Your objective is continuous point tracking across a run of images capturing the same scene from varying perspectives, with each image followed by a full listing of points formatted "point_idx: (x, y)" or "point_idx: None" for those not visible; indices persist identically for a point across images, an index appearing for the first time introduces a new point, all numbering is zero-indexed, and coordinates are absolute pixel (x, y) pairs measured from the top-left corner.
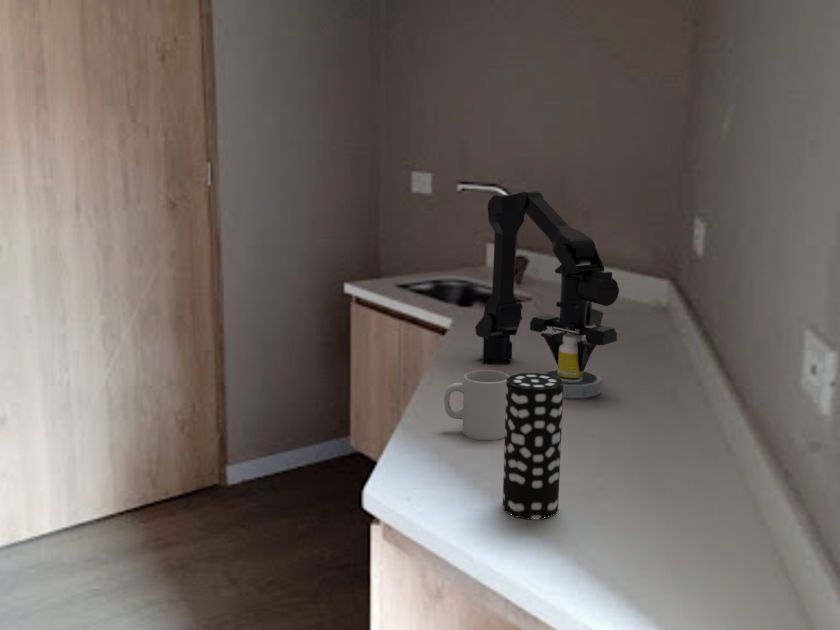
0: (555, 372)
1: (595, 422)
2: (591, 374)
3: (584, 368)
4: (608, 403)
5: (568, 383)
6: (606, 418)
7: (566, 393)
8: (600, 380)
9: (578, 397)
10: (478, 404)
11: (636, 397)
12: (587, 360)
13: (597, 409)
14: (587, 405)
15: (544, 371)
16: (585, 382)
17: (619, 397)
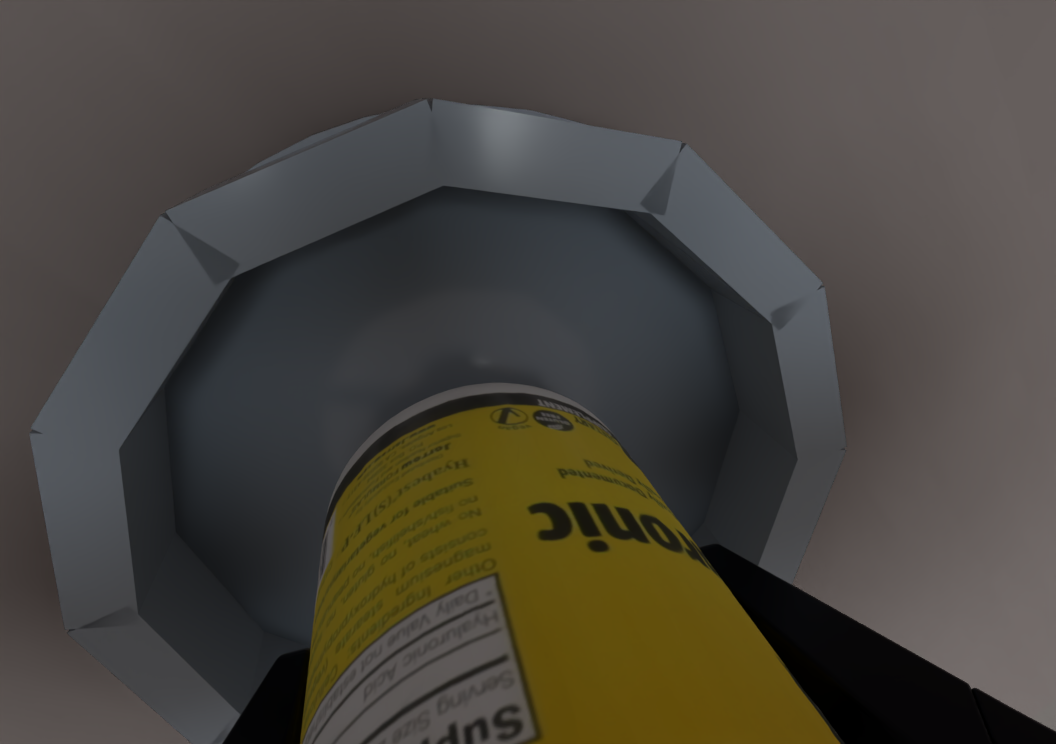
0: (138, 502)
1: (969, 682)
2: (574, 200)
3: (740, 560)
4: (909, 423)
5: None
6: (996, 609)
7: None
8: (824, 335)
9: None
10: None
11: (1051, 85)
12: (875, 651)
13: (898, 562)
14: (813, 568)
15: (96, 654)
16: (489, 233)
17: (923, 228)
